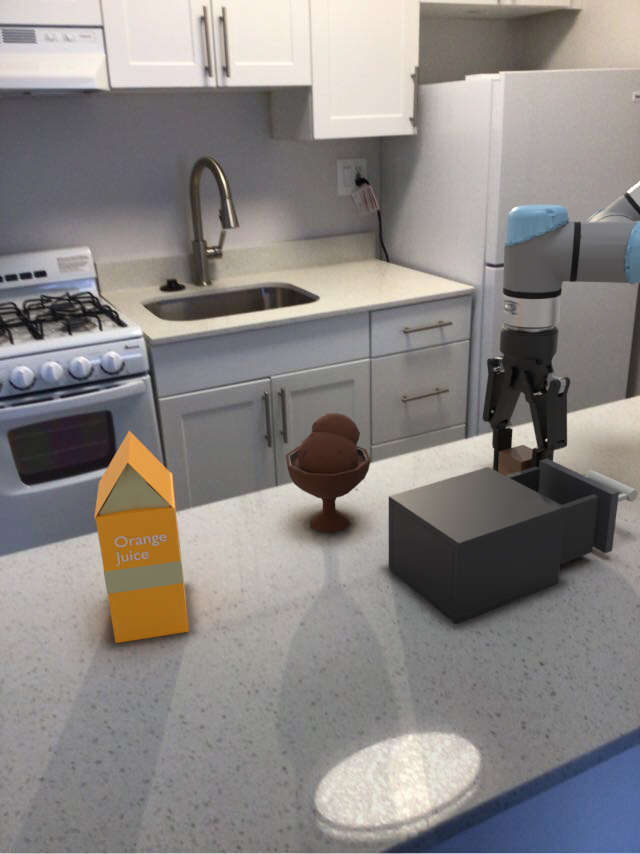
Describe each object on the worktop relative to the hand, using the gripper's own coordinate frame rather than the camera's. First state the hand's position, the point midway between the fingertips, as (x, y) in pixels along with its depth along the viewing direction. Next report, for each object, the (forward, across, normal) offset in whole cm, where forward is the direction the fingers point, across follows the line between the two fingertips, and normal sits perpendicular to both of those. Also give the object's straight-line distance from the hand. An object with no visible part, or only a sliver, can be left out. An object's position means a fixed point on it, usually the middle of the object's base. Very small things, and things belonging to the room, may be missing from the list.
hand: (519, 479), depth 110 cm
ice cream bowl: (0, -4, -29) cm, 30 cm away
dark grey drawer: (-1, +16, -9) cm, 18 cm away
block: (0, 0, 0) cm, 0 cm away
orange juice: (0, +3, -56) cm, 56 cm away
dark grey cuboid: (0, +16, -22) cm, 27 cm away
